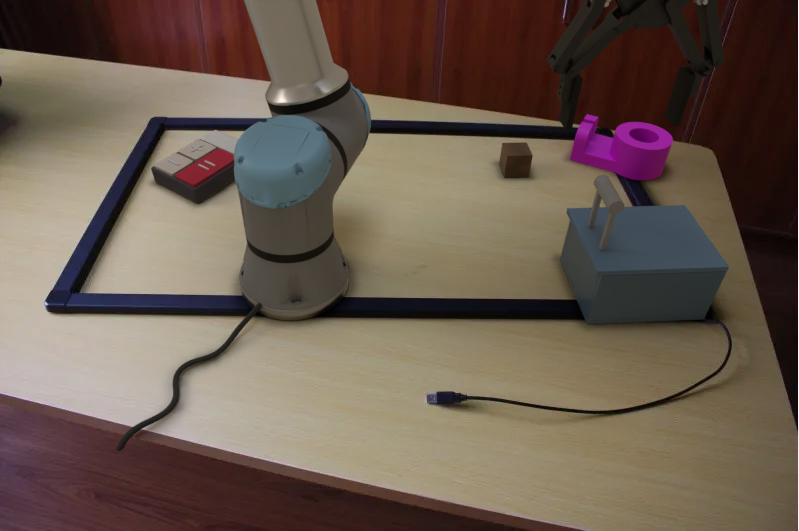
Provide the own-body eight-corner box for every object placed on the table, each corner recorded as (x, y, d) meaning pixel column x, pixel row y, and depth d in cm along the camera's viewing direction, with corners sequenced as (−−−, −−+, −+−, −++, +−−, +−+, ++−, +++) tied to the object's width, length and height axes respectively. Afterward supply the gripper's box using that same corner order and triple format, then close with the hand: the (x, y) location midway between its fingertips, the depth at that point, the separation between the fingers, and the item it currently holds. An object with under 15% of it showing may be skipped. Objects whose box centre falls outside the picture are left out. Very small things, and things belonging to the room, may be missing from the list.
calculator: (148, 164, 107) (214, 125, 116) (155, 185, 110) (219, 145, 119) (193, 186, 103) (259, 144, 112) (199, 207, 106) (262, 165, 115)
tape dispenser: (666, 160, 120) (677, 130, 116) (656, 186, 114) (667, 155, 109) (583, 138, 126) (590, 109, 122) (568, 161, 119) (575, 131, 115)
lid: (596, 276, 81) (613, 220, 76) (566, 212, 92) (579, 159, 86) (727, 271, 83) (753, 216, 77) (683, 209, 93) (703, 156, 87)
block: (503, 177, 114) (507, 155, 111) (498, 164, 118) (502, 142, 115) (528, 177, 115) (532, 155, 112) (523, 163, 118) (526, 142, 115)
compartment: (586, 324, 87) (602, 276, 81) (559, 259, 97) (571, 212, 92) (703, 319, 89) (727, 271, 83) (664, 256, 99) (683, 209, 93)
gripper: (765, -77, 69) (701, 105, 83) (539, -75, 67) (512, 112, 80) (806, -58, 63) (730, 134, 77) (561, -55, 61) (528, 142, 75)
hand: (618, 123), depth 79 cm, fingers open, 13 cm apart
